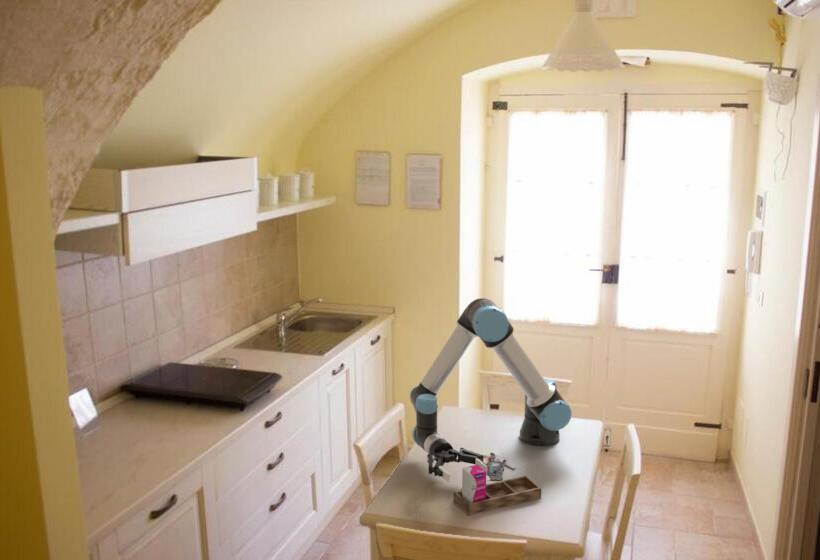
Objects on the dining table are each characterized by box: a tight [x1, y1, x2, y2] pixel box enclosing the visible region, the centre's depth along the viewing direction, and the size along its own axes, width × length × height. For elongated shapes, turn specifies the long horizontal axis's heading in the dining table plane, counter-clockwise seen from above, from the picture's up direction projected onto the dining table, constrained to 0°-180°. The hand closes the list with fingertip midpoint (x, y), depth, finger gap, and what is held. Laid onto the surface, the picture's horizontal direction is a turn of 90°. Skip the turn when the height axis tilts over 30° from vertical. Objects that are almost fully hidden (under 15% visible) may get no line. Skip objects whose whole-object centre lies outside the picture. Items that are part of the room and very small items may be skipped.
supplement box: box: [461, 464, 487, 504], centre depth 245 cm, size 6×6×12 cm
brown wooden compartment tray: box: [453, 475, 542, 516], centre depth 249 cm, size 27×10×4 cm, turn 113°
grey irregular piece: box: [486, 452, 507, 481], centre depth 272 cm, size 21×7×2 cm, turn 166°
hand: (467, 474), depth 248 cm, fingers open, 13 cm apart
